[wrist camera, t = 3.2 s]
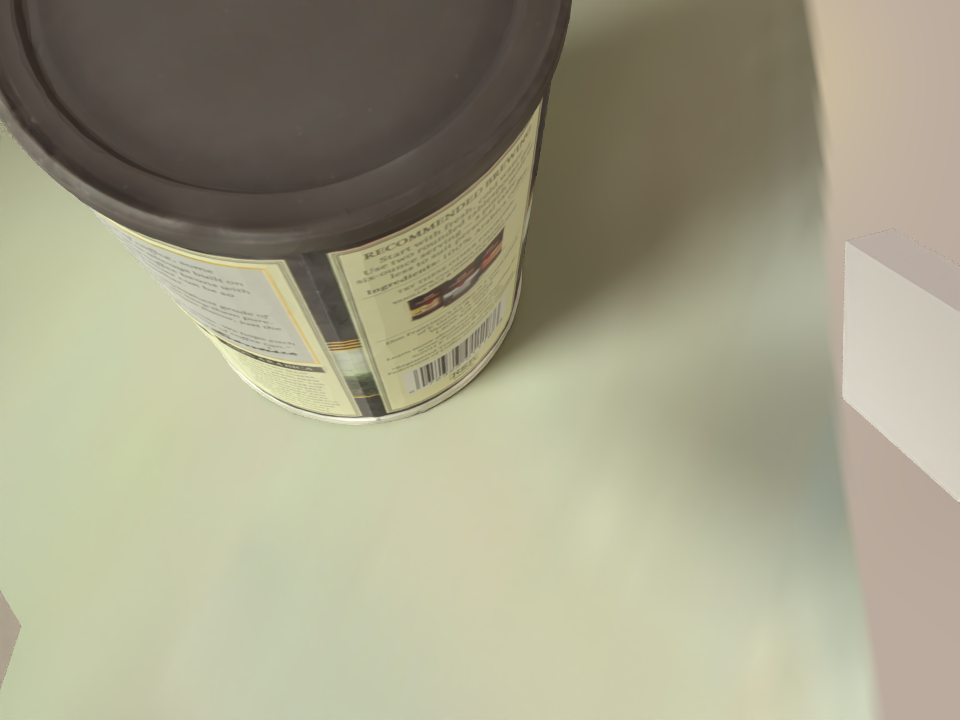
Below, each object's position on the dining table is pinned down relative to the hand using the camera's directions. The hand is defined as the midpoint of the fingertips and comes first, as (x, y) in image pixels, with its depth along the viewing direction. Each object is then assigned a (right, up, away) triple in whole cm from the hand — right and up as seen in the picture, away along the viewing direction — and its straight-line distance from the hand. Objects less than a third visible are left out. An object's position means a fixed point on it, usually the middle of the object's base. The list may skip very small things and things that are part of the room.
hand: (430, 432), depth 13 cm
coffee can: (-3, +4, +16) cm, 17 cm away
